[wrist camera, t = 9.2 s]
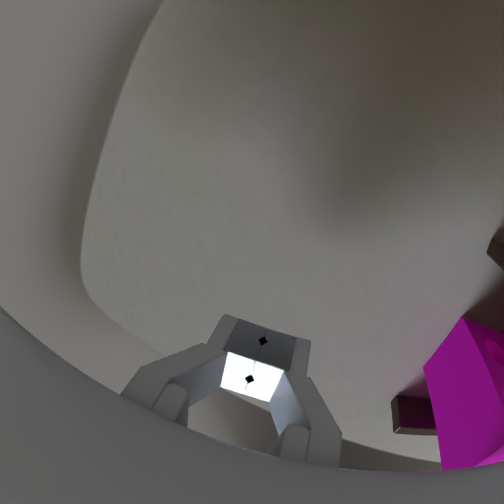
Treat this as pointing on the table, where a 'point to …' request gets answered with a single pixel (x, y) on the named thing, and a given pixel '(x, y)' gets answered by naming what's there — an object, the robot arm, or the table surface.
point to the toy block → (468, 396)
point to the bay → (420, 410)
